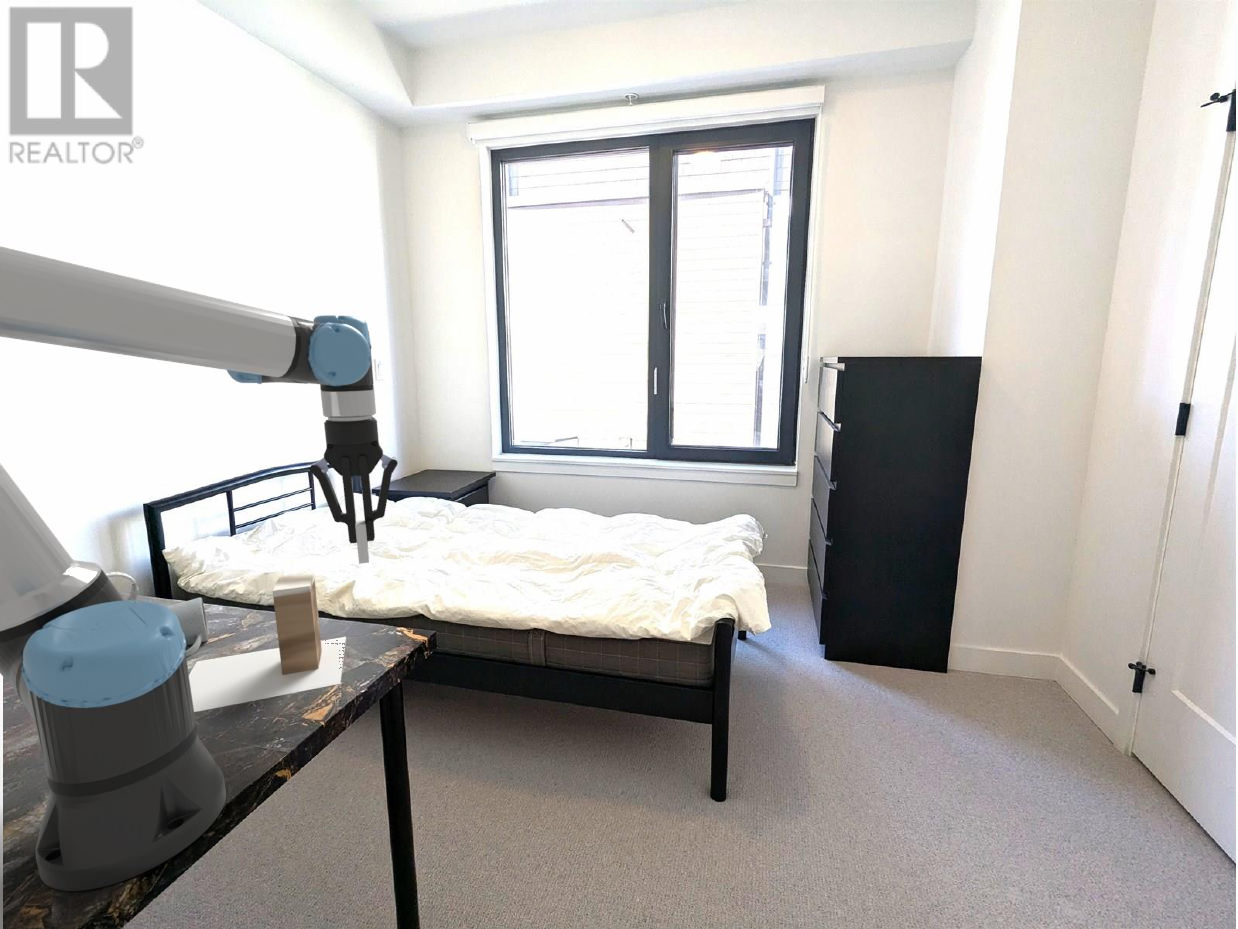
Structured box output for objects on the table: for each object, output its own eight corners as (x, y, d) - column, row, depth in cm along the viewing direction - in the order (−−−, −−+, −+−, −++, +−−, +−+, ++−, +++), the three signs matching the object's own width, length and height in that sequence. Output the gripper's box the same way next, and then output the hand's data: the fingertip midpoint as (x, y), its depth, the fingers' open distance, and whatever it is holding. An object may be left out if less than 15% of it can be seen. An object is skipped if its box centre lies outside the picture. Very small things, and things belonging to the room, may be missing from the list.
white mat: (340, 686, 86) (340, 683, 86) (163, 720, 77) (162, 718, 77) (346, 638, 100) (346, 636, 100) (197, 663, 92) (196, 661, 92)
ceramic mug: (151, 643, 98) (144, 602, 97) (208, 630, 103) (203, 591, 102) (148, 671, 90) (141, 626, 89) (211, 655, 95) (205, 612, 94)
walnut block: (318, 668, 90) (309, 586, 87) (282, 675, 88) (272, 590, 85) (321, 651, 95) (314, 572, 93) (288, 656, 93) (279, 577, 91)
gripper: (394, 413, 94) (405, 548, 99) (306, 417, 89) (322, 558, 94) (395, 418, 87) (407, 562, 92) (300, 422, 82) (317, 574, 87)
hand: (364, 560), depth 93 cm, fingers closed
